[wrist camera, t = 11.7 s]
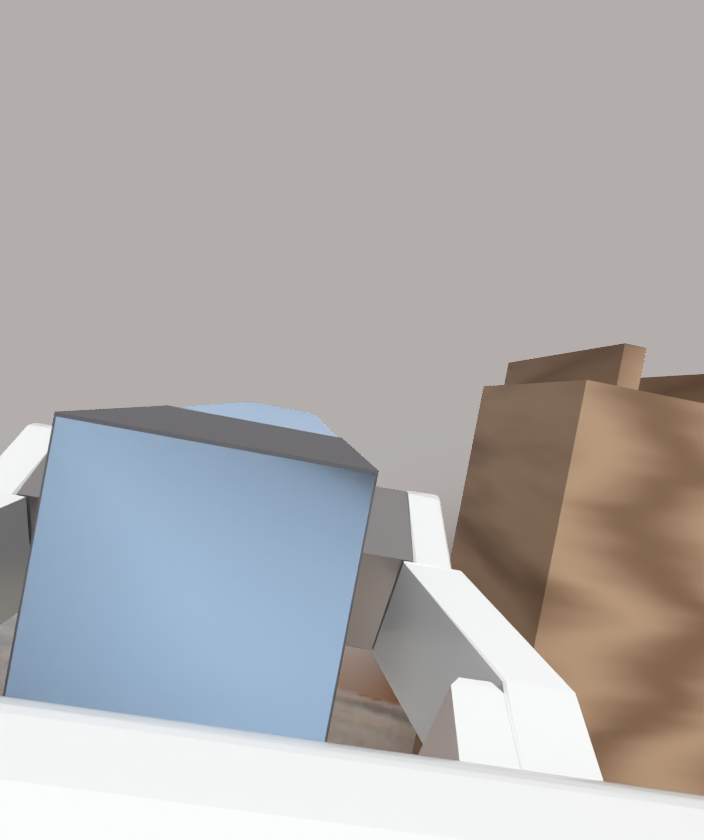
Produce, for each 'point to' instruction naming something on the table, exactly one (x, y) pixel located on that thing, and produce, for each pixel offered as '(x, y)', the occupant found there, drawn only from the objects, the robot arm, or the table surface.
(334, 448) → the light blue bar
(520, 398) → the box
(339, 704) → the table surface
